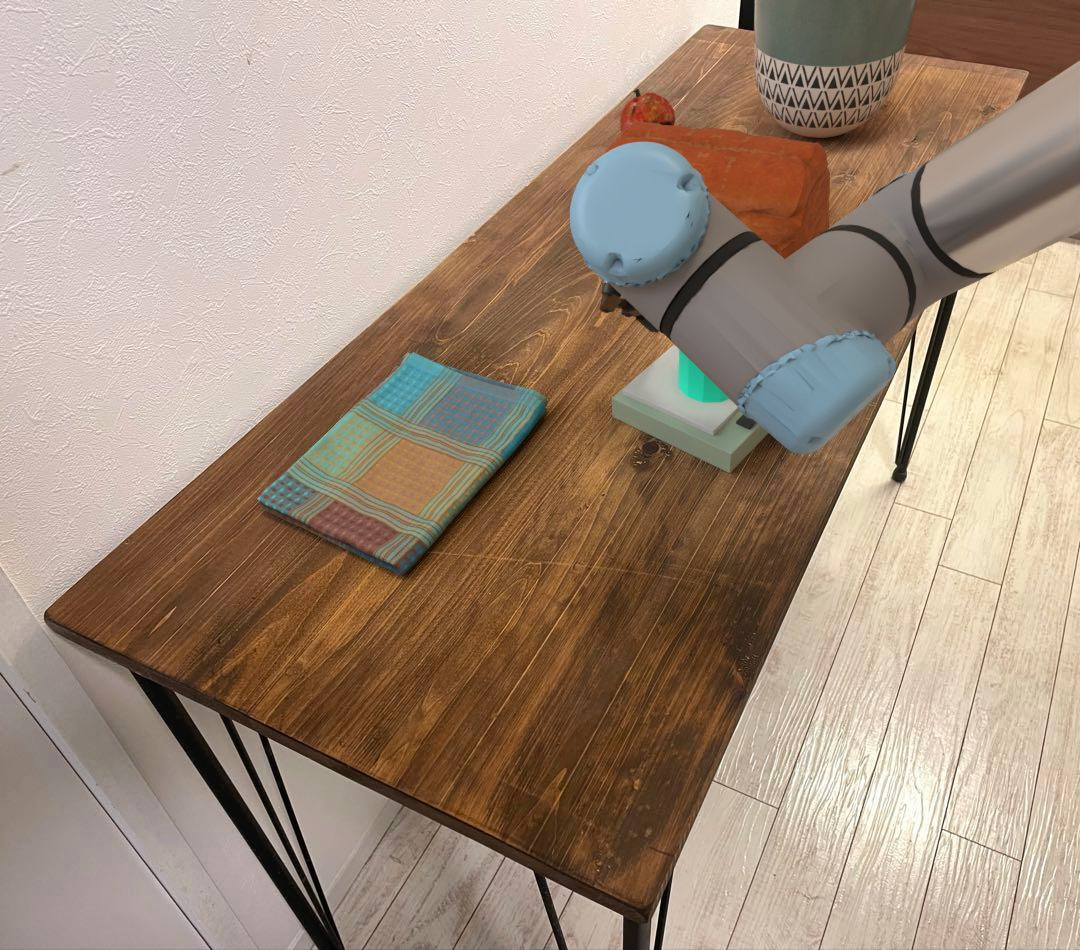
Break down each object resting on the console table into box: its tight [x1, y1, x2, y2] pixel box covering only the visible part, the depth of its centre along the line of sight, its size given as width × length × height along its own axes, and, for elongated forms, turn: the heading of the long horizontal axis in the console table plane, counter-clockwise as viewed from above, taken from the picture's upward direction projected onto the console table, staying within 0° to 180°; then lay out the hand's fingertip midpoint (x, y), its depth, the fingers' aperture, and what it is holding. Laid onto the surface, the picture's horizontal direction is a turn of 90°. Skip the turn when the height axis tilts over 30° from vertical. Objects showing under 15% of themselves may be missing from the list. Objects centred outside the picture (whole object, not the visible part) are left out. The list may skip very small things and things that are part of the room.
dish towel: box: [257, 352, 549, 577], centre depth 84 cm, size 17×23×2 cm
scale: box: [611, 344, 769, 474], centre depth 86 cm, size 13×13×3 cm
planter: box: [753, 0, 918, 139], centre depth 118 cm, size 20×20×21 cm
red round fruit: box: [619, 88, 676, 133], centre depth 124 cm, size 7×7×10 cm
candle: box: [678, 350, 729, 402], centre depth 80 cm, size 6×6×12 cm
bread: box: [603, 121, 831, 259], centre depth 106 cm, size 16×27×11 cm, turn 64°
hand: (719, 326), depth 83 cm, fingers open, 11 cm apart
